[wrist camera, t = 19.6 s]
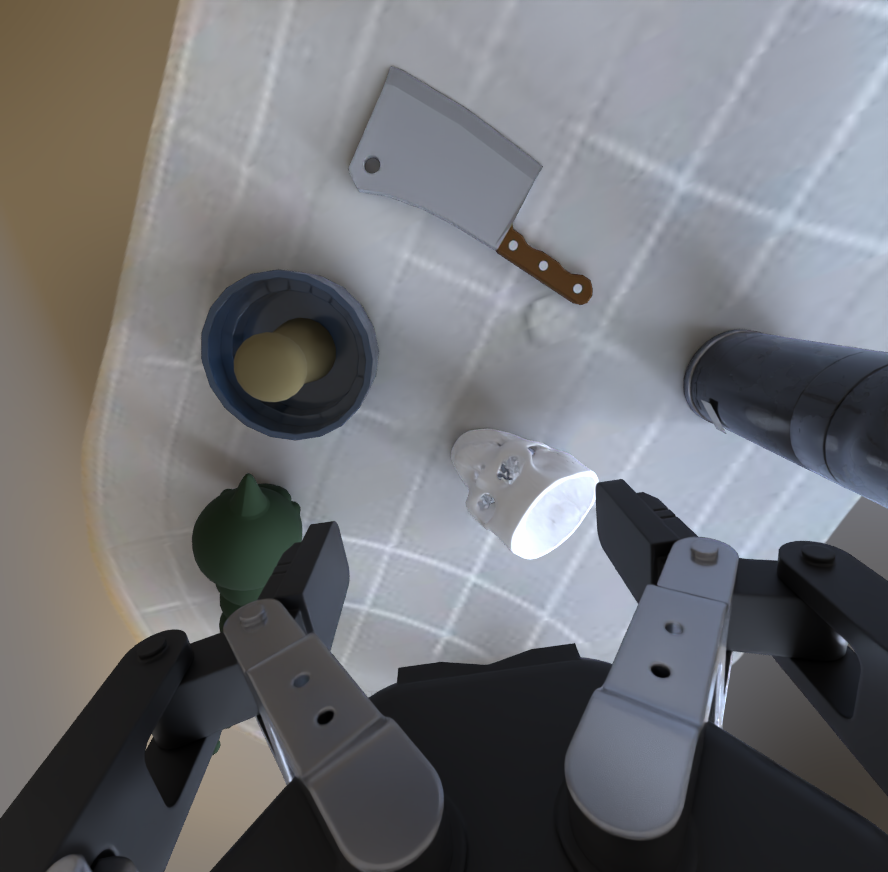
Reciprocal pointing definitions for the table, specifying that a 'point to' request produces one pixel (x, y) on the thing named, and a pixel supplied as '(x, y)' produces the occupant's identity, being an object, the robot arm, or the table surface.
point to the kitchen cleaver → (455, 173)
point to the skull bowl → (523, 489)
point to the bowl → (263, 310)
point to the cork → (284, 359)
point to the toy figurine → (244, 541)
